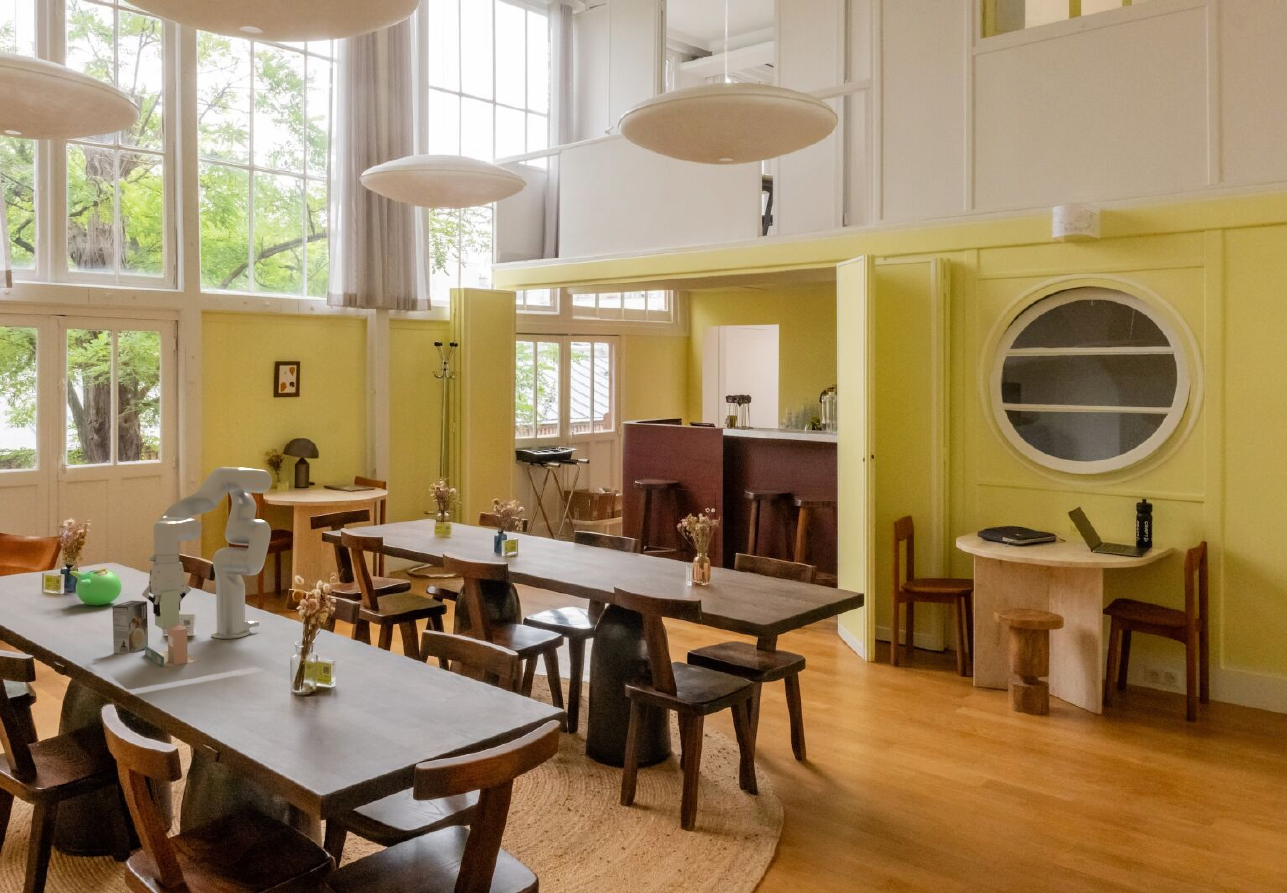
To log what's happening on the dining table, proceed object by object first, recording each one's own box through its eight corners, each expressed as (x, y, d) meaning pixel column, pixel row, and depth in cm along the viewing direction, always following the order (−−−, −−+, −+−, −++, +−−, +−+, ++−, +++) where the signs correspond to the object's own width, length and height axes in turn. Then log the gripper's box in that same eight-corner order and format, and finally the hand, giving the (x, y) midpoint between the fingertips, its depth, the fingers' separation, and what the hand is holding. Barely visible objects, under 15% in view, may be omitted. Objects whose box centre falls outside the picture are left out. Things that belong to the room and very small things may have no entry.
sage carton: (179, 627, 319) (179, 590, 318) (162, 629, 315) (162, 592, 315) (171, 622, 325) (171, 586, 324) (154, 624, 321) (154, 588, 321)
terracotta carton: (181, 658, 317) (181, 624, 316) (187, 662, 313) (187, 628, 312) (167, 660, 314) (167, 626, 314) (173, 664, 310) (173, 630, 309)
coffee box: (132, 646, 336) (131, 599, 335) (148, 647, 335) (148, 601, 334) (112, 653, 327) (111, 605, 326) (129, 654, 326) (128, 606, 325)
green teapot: (128, 605, 396) (127, 569, 395) (81, 611, 384) (81, 574, 383) (112, 598, 408) (111, 563, 407) (66, 604, 396) (66, 568, 395)
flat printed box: (180, 653, 328) (180, 640, 328) (199, 665, 315) (198, 651, 315) (144, 659, 321) (144, 645, 321) (162, 671, 308) (161, 657, 307)
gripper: (141, 563, 310) (141, 620, 311) (197, 558, 322) (198, 613, 323) (134, 560, 316) (135, 616, 317) (190, 555, 327) (190, 609, 328)
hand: (166, 613), depth 320 cm, fingers closed on sage carton, 5 cm apart
